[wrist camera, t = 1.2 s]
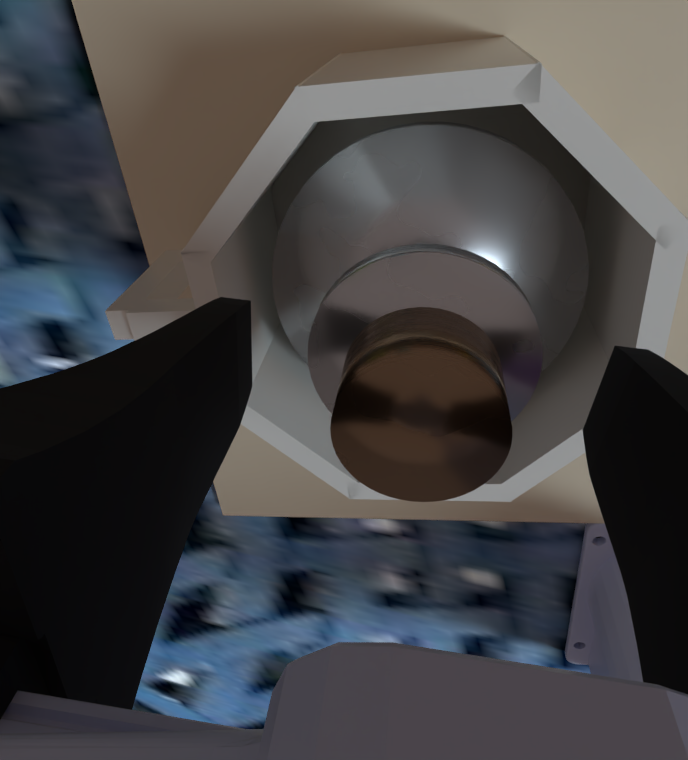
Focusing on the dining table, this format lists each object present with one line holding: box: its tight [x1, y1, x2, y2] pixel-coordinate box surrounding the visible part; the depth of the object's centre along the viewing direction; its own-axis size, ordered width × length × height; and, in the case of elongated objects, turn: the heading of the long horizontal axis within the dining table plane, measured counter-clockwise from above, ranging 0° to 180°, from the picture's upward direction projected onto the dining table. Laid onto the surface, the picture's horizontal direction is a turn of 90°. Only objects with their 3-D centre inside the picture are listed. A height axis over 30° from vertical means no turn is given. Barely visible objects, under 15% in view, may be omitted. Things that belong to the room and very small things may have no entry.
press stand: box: [71, 0, 688, 524], centre depth 16 cm, size 24×18×7 cm
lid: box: [272, 121, 589, 502], centre depth 12 cm, size 8×8×6 cm
